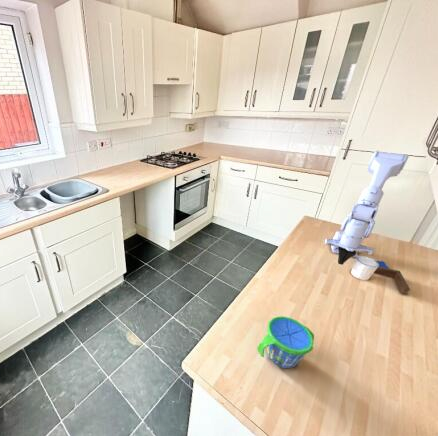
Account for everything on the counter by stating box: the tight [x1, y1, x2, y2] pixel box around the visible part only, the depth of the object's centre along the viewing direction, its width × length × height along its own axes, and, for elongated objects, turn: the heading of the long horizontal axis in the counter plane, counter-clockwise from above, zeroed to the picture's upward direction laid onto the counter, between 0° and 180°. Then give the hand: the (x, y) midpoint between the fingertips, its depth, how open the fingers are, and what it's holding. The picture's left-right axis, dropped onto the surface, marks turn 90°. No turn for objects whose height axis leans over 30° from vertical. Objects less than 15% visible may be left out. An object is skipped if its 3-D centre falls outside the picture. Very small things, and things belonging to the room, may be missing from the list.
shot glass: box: [351, 255, 379, 281], centre depth 94 cm, size 7×7×7 cm
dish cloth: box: [374, 259, 389, 268], centre depth 100 cm, size 8×7×1 cm
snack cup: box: [256, 315, 315, 369], centre depth 66 cm, size 16×10×10 cm
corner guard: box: [373, 266, 411, 296], centre depth 92 cm, size 8×11×3 cm
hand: (340, 262), depth 98 cm, fingers closed
